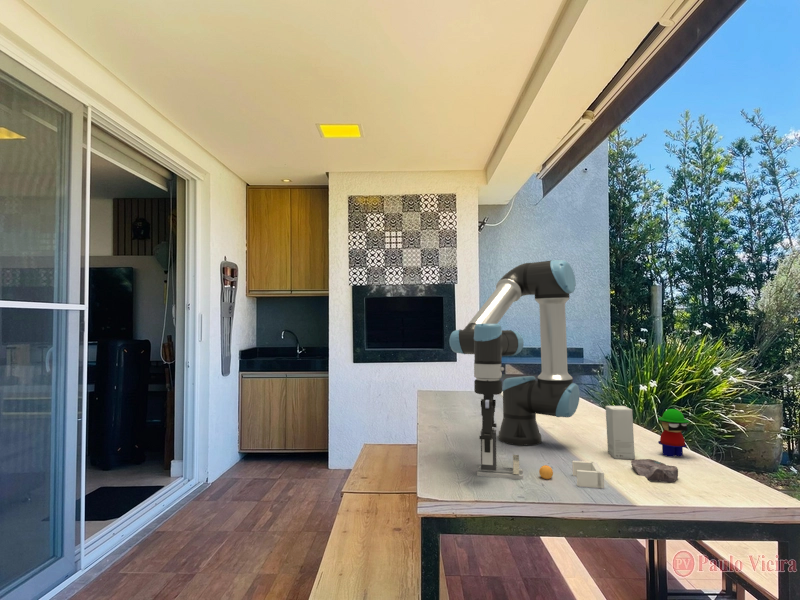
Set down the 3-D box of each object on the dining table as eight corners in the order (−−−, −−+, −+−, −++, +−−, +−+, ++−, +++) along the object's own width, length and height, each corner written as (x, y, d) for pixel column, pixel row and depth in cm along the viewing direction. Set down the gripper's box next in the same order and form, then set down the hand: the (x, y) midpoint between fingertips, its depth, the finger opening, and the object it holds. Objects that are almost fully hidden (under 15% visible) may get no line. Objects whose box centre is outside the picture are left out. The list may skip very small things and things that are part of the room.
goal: (577, 487, 115) (577, 471, 115) (572, 475, 124) (572, 460, 124) (604, 489, 113) (604, 473, 113) (597, 477, 122) (596, 462, 123)
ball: (536, 478, 121) (536, 464, 122) (545, 476, 123) (545, 462, 124) (546, 482, 118) (546, 468, 119) (555, 479, 120) (555, 466, 121)
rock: (684, 485, 120) (683, 467, 120) (637, 481, 123) (636, 464, 123) (673, 475, 128) (673, 459, 128) (629, 472, 130) (629, 456, 131)
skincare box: (635, 460, 142) (633, 409, 143) (612, 459, 143) (611, 408, 144) (627, 453, 150) (626, 405, 151) (606, 451, 151) (604, 404, 152)
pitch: (468, 485, 119) (468, 476, 119) (472, 469, 132) (472, 461, 132) (608, 497, 111) (608, 487, 111) (597, 478, 124) (597, 470, 125)
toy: (686, 453, 150) (685, 407, 150) (694, 460, 141) (693, 412, 142) (655, 451, 152) (654, 405, 153) (662, 458, 144) (660, 410, 145)
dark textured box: (480, 476, 122) (480, 432, 123) (482, 469, 128) (481, 428, 128) (519, 479, 120) (518, 435, 120) (518, 472, 125) (518, 430, 126)
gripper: (501, 384, 113) (502, 472, 112) (502, 374, 137) (503, 446, 136) (470, 383, 115) (471, 469, 113) (477, 374, 139) (477, 444, 138)
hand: (488, 457), depth 125 cm, fingers open, 13 cm apart
